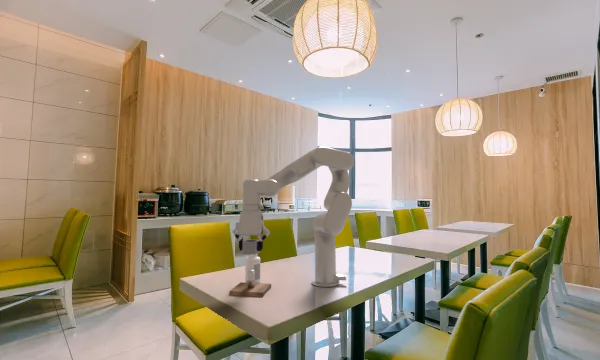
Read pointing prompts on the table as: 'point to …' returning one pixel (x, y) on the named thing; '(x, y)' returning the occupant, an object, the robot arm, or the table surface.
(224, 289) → the table surface
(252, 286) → the steel shaft
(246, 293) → the walnut base
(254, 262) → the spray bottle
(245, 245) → the ring
